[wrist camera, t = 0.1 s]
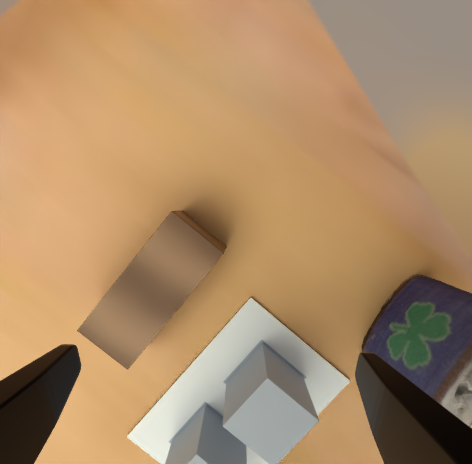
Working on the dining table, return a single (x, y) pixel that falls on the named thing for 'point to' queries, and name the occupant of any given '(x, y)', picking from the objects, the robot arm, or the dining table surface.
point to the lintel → (152, 288)
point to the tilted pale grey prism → (268, 405)
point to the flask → (428, 340)
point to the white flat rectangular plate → (222, 368)
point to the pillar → (206, 442)
